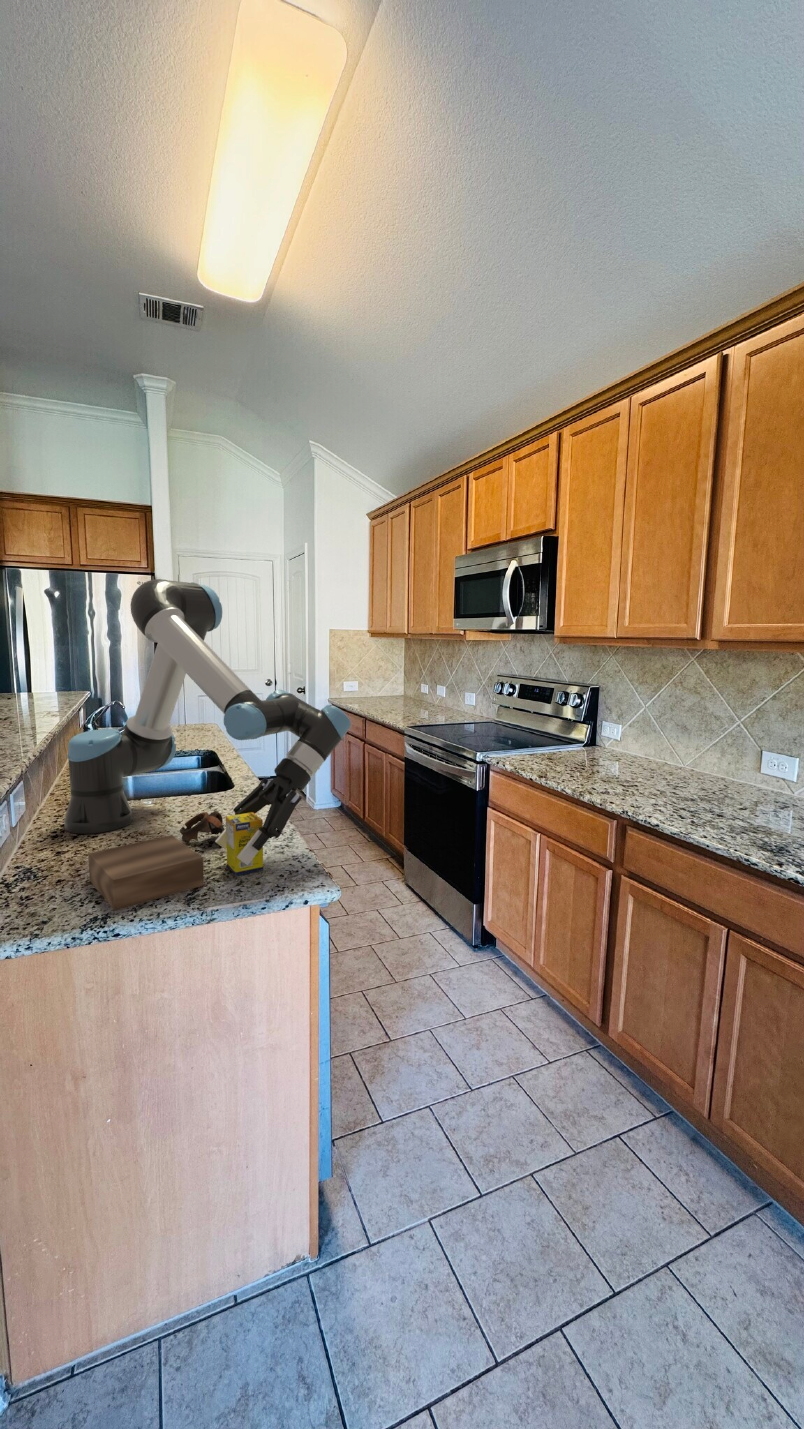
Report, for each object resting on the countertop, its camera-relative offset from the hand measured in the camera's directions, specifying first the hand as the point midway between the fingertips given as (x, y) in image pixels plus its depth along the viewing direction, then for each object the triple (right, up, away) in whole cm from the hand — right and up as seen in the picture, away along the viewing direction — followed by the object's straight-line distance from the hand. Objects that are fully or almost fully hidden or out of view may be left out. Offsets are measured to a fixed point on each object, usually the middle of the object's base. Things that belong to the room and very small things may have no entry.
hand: (230, 853), depth 116 cm
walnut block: (-15, -5, -5) cm, 16 cm away
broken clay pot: (-10, -2, +17) cm, 20 cm away
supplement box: (+2, -4, +3) cm, 5 cm away
